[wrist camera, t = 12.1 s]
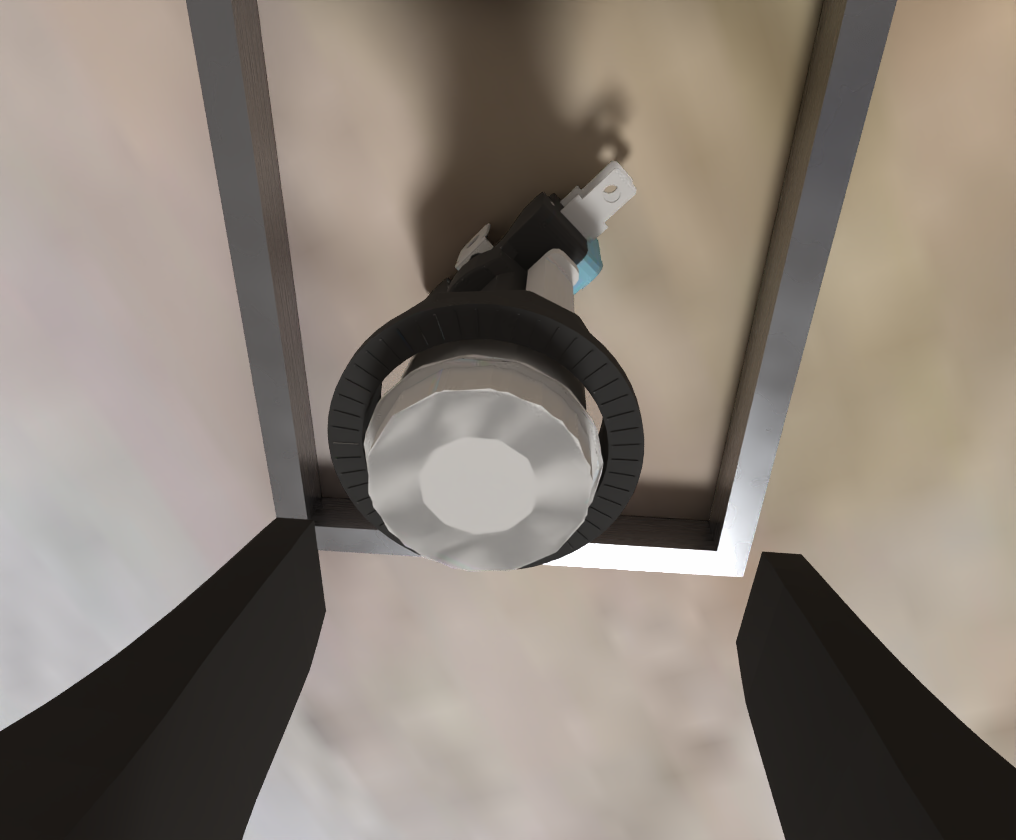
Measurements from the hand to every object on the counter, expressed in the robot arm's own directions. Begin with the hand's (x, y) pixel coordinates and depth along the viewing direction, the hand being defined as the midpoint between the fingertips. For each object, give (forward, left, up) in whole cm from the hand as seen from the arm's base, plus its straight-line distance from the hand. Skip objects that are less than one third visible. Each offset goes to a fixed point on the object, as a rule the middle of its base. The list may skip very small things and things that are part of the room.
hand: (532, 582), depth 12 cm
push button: (0, -2, -11) cm, 11 cm away
